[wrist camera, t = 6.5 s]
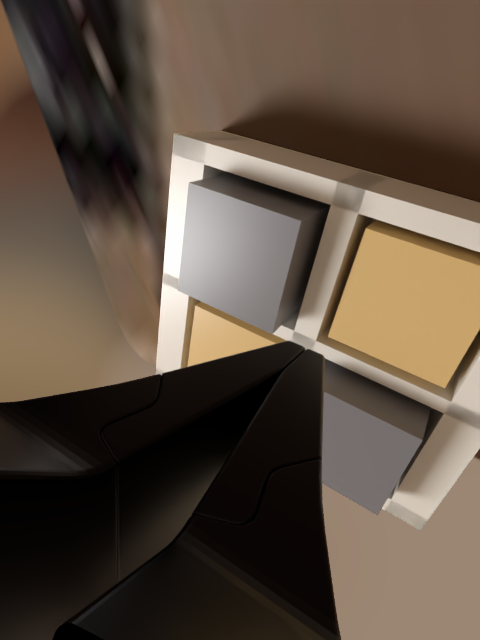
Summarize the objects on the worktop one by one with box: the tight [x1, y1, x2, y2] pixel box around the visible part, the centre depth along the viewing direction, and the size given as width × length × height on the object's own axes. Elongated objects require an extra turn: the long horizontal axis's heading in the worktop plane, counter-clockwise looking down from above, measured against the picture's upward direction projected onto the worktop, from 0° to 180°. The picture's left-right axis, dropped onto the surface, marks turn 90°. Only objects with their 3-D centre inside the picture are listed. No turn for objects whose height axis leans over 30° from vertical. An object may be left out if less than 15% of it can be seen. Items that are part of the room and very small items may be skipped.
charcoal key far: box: [321, 359, 431, 515], centre depth 18 cm, size 5×5×3 cm
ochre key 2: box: [328, 219, 480, 388], centre depth 16 cm, size 5×5×3 cm
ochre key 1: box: [187, 302, 287, 367], centre depth 21 cm, size 5×5×3 cm
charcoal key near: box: [178, 173, 331, 334], centre depth 17 cm, size 5×5×3 cm
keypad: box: [156, 130, 480, 530], centre depth 18 cm, size 15×13×4 cm
